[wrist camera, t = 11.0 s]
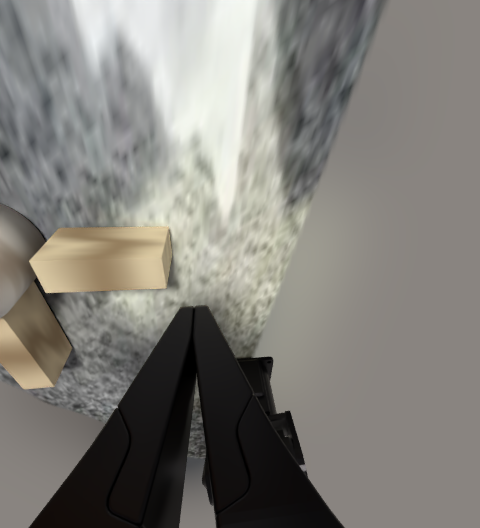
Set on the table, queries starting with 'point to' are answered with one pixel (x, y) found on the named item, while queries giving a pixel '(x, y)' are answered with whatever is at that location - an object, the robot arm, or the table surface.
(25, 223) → the stool base
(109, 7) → the table surface
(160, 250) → the folding leg
